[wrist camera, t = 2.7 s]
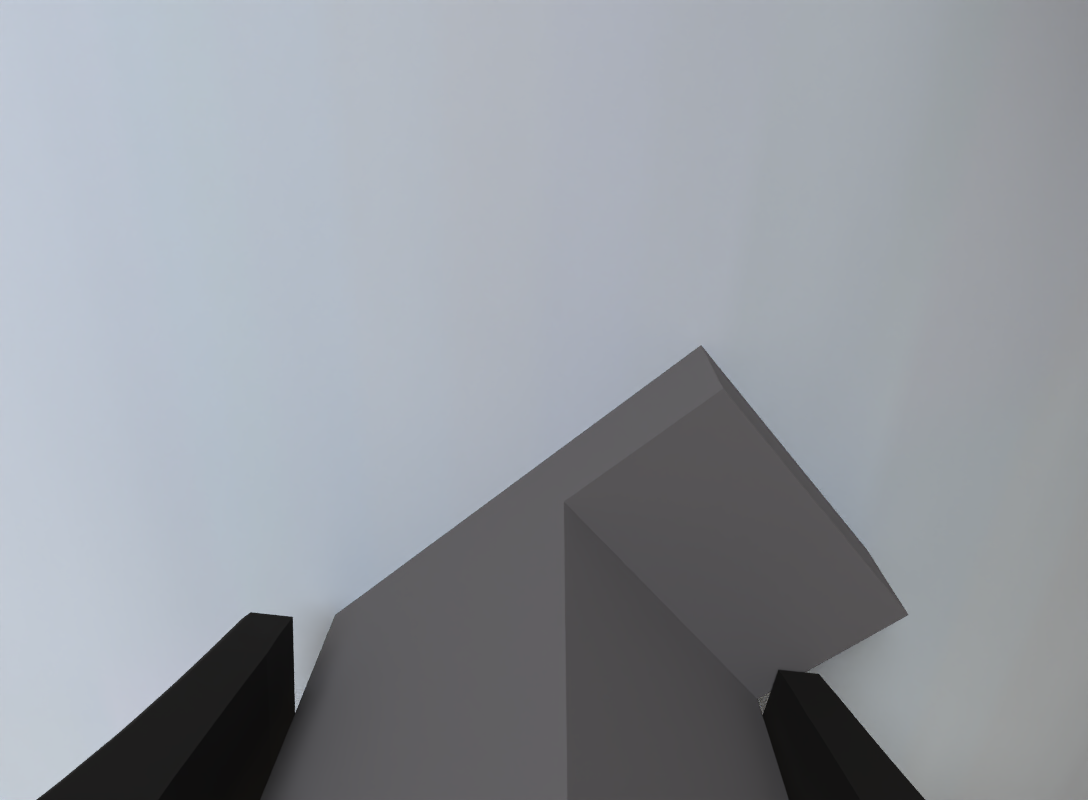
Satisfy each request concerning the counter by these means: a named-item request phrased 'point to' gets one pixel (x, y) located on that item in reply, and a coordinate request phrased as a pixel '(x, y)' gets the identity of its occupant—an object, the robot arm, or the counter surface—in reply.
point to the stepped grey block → (595, 623)
